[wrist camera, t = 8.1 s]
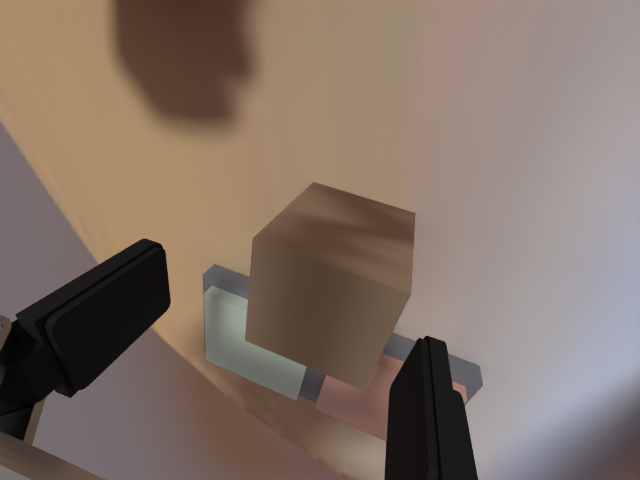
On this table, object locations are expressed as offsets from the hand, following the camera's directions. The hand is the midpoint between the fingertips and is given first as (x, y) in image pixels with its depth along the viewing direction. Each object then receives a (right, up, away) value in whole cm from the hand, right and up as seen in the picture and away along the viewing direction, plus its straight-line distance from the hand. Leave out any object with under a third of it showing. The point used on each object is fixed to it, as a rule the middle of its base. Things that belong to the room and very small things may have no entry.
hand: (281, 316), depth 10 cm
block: (+3, +3, +5) cm, 6 cm away
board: (+2, -5, +9) cm, 11 cm away
